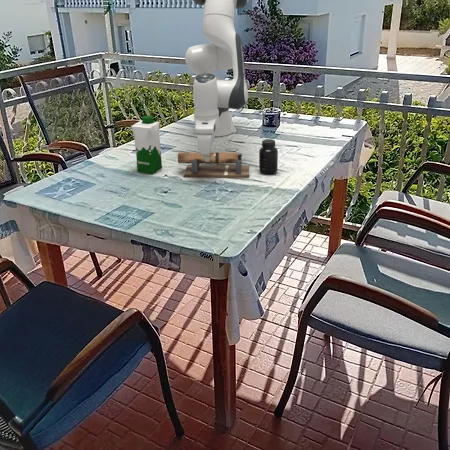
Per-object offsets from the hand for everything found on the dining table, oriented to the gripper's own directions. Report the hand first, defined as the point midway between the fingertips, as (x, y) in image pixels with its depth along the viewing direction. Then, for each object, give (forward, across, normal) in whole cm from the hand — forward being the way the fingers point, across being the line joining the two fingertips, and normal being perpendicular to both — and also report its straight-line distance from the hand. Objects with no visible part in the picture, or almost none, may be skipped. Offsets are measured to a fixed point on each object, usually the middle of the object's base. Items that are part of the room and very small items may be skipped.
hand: (208, 158), depth 176 cm
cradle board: (+5, 0, +3) cm, 6 cm away
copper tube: (+2, 0, 0) cm, 2 cm away
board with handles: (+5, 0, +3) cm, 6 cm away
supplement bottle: (+6, -1, +22) cm, 23 cm away
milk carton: (+6, -2, -23) cm, 23 cm away
